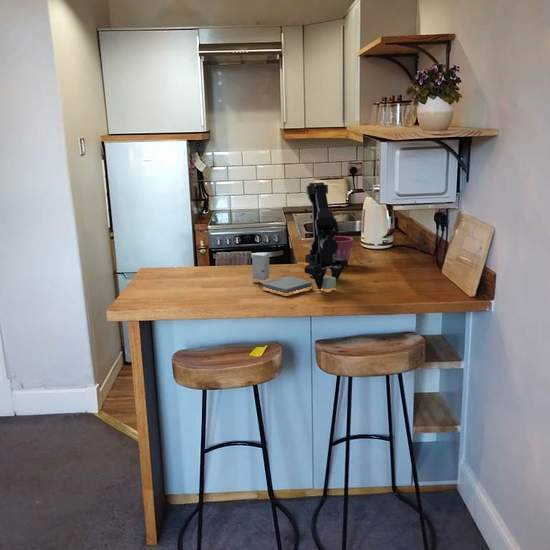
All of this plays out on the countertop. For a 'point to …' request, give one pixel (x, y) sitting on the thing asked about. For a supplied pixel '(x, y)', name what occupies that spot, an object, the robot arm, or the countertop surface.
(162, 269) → the countertop surface
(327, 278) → the green cube
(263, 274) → the skincare box
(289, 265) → the countertop surface
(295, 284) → the base
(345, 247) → the plant pot
